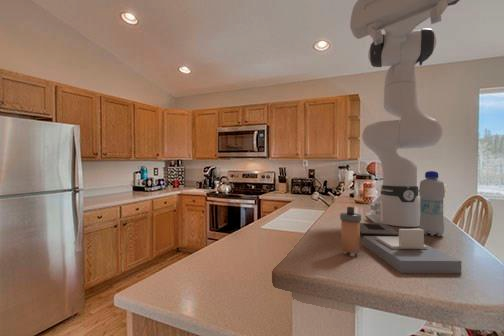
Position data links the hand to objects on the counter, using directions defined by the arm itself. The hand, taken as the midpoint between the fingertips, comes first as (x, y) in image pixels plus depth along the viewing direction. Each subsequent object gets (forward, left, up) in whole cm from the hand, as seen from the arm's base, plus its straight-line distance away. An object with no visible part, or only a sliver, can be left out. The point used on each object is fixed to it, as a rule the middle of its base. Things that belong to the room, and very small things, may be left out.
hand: (405, 31), depth 47 cm
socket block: (-12, +7, -47) cm, 49 cm away
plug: (-14, -5, -47) cm, 49 cm away
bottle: (-32, +27, -47) cm, 63 cm away
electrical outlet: (-34, +10, -48) cm, 59 cm away
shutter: (-14, +7, -44) cm, 47 cm away
